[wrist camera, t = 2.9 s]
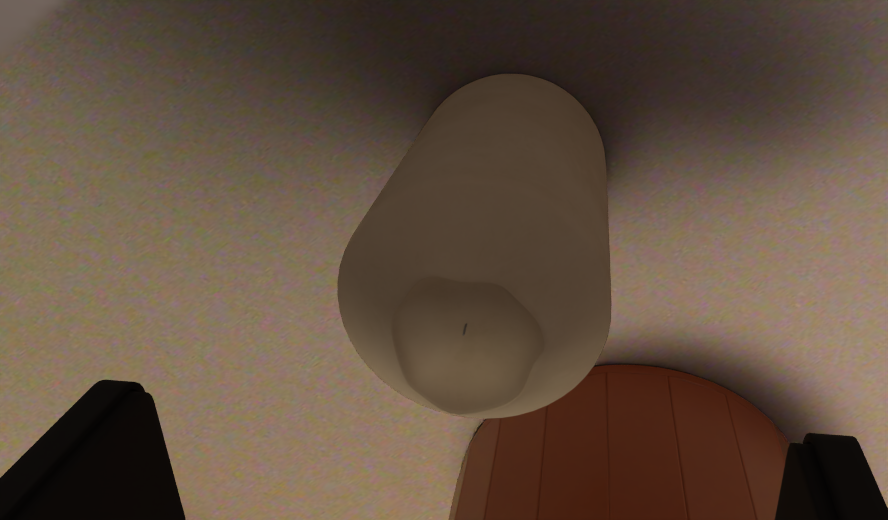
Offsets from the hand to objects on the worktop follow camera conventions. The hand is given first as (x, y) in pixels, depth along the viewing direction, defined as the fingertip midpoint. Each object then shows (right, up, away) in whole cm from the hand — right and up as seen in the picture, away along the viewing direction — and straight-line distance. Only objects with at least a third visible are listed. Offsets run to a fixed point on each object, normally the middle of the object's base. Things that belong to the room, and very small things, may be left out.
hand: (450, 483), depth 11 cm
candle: (+2, +6, +12) cm, 13 cm away
